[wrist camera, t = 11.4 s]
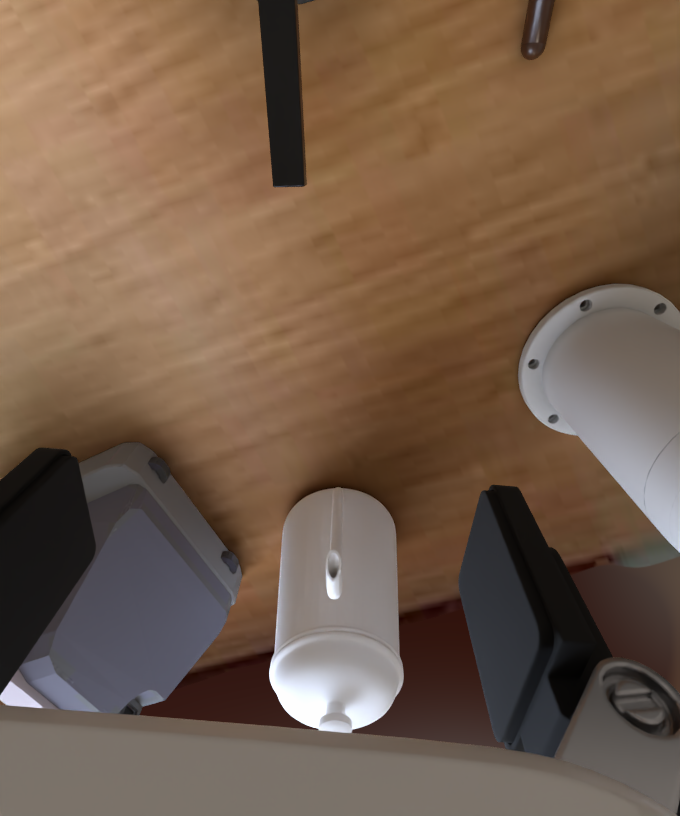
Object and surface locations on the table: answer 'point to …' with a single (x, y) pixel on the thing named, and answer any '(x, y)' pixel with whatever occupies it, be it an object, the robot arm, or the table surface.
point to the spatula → (536, 28)
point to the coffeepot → (337, 612)
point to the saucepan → (283, 90)
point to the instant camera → (132, 595)
